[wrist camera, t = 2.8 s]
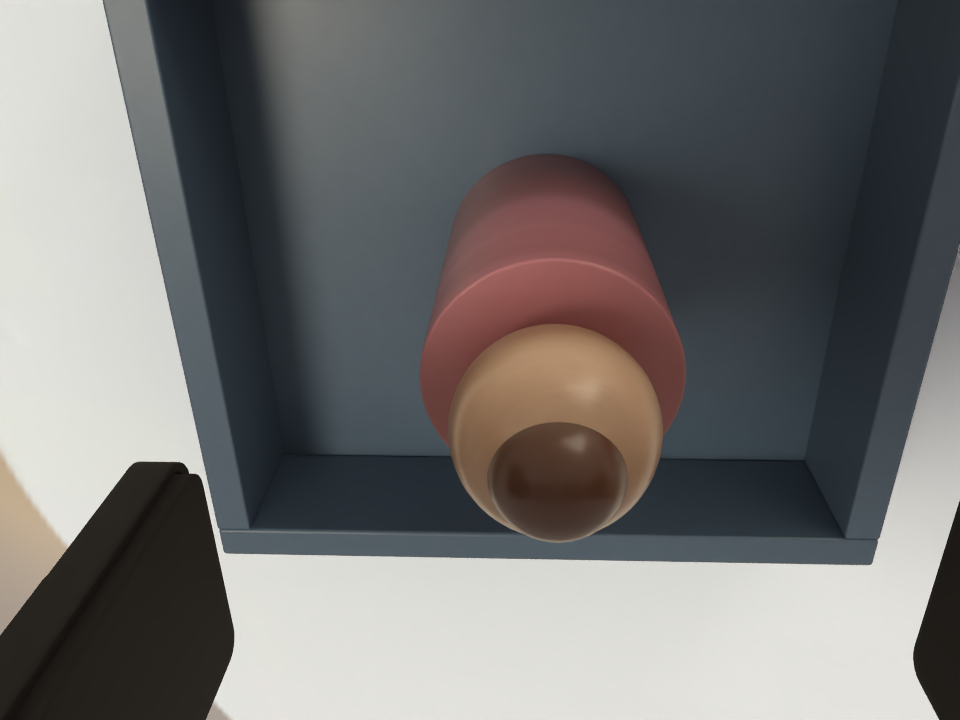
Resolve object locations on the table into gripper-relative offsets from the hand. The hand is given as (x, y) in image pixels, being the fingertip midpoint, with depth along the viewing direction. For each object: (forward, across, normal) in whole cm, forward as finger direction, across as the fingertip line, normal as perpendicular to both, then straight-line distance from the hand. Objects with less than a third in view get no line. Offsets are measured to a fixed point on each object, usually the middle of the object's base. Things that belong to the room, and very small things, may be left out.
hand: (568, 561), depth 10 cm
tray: (+11, 0, 0) cm, 11 cm away
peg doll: (+10, 0, 0) cm, 10 cm away
